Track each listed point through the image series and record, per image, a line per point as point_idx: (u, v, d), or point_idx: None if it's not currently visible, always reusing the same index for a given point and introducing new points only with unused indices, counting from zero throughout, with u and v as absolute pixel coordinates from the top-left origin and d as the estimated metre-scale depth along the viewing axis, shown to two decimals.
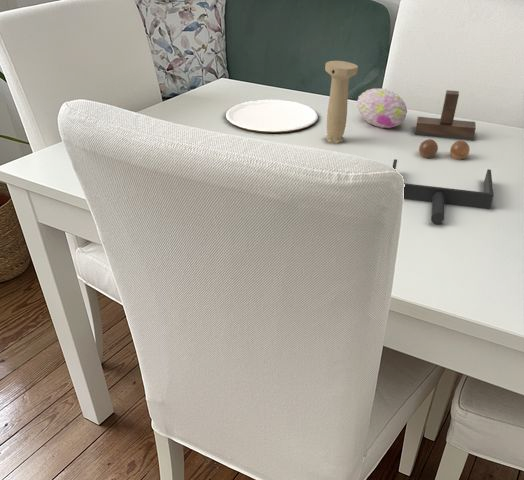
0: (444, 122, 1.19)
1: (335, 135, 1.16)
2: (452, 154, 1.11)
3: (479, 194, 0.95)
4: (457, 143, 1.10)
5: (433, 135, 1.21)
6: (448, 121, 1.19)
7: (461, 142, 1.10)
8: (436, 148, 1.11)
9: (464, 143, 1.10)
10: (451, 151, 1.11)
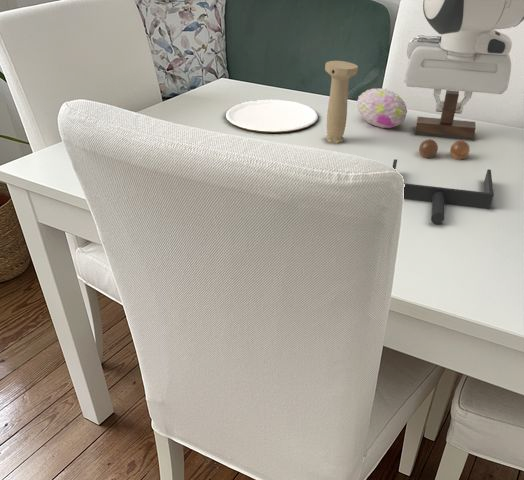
0: (444, 122, 1.19)
1: (335, 135, 1.16)
2: (452, 154, 1.11)
3: (479, 194, 0.95)
4: (457, 143, 1.10)
5: (433, 135, 1.21)
6: (448, 121, 1.19)
7: (461, 142, 1.10)
8: (436, 148, 1.11)
9: (464, 143, 1.10)
10: (451, 151, 1.11)
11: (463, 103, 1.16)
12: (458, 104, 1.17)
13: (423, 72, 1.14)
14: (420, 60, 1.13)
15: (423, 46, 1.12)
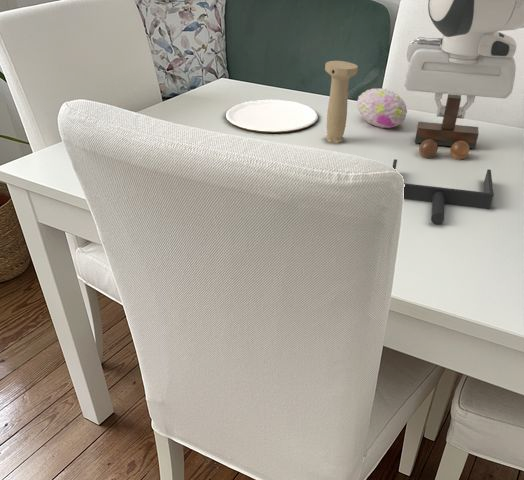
0: (446, 127, 1.15)
1: (335, 135, 1.16)
2: (452, 154, 1.11)
3: (479, 194, 0.95)
4: (457, 143, 1.10)
5: None
6: (450, 126, 1.14)
7: (461, 142, 1.10)
8: (436, 148, 1.11)
9: (464, 143, 1.10)
10: (451, 151, 1.11)
11: (465, 108, 1.12)
12: (460, 109, 1.13)
13: (423, 75, 1.09)
14: (420, 63, 1.08)
15: (424, 48, 1.07)
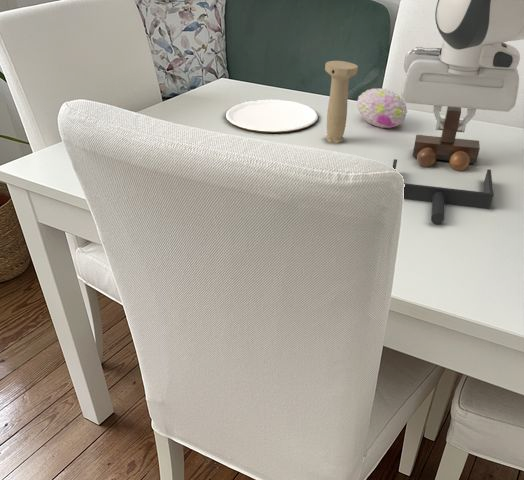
0: (445, 141, 1.09)
1: (335, 135, 1.16)
2: None
3: (479, 194, 0.95)
4: None
5: None
6: (449, 140, 1.08)
7: None
8: None
9: None
10: None
11: (466, 121, 1.06)
12: (460, 122, 1.07)
13: (422, 87, 1.03)
14: (418, 74, 1.02)
15: (422, 59, 1.01)
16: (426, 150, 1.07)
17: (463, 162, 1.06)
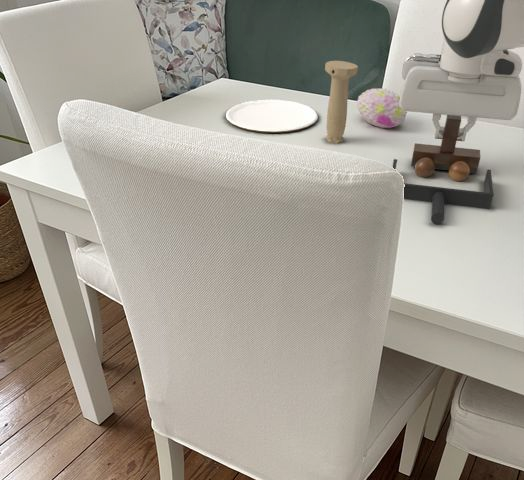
0: (444, 150, 1.05)
1: (335, 135, 1.16)
2: (452, 173, 1.03)
3: (479, 194, 0.95)
4: (456, 162, 1.03)
5: None
6: (449, 149, 1.05)
7: (461, 161, 1.03)
8: None
9: (464, 162, 1.03)
10: (450, 170, 1.03)
11: (466, 130, 1.02)
12: (460, 131, 1.03)
13: (420, 95, 1.00)
14: (416, 82, 0.99)
15: (420, 66, 0.98)
16: None
17: None
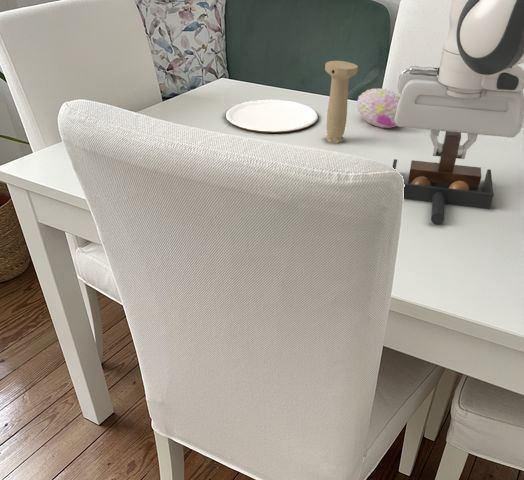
0: (443, 168, 0.99)
1: (335, 135, 1.16)
2: (452, 183, 0.97)
3: (479, 194, 0.95)
4: None
5: None
6: (448, 167, 0.98)
7: None
8: None
9: None
10: None
11: (466, 147, 0.96)
12: (460, 148, 0.97)
13: (417, 110, 0.93)
14: (413, 96, 0.92)
15: (417, 79, 0.91)
16: None
17: None
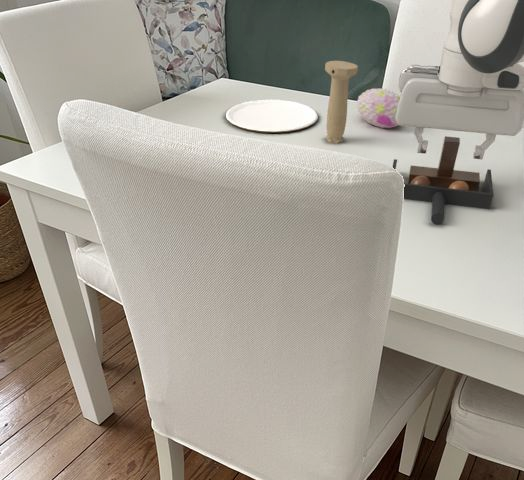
0: (442, 174, 0.99)
1: (335, 135, 1.16)
2: (452, 184, 0.97)
3: (479, 194, 0.95)
4: None
5: None
6: (447, 173, 0.99)
7: None
8: None
9: None
10: None
11: (484, 147, 0.95)
12: (478, 148, 0.96)
13: (418, 109, 0.93)
14: (414, 95, 0.92)
15: (418, 78, 0.91)
16: None
17: None
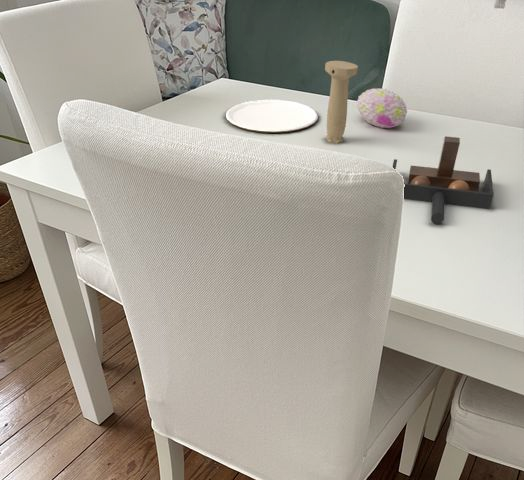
0: (442, 174, 0.99)
1: (335, 135, 1.16)
2: (452, 183, 0.97)
3: (479, 194, 0.95)
4: None
5: None
6: (447, 173, 0.99)
7: None
8: None
9: None
10: (450, 184, 0.98)
11: None
12: None
13: None
14: None
15: None
16: None
17: None
